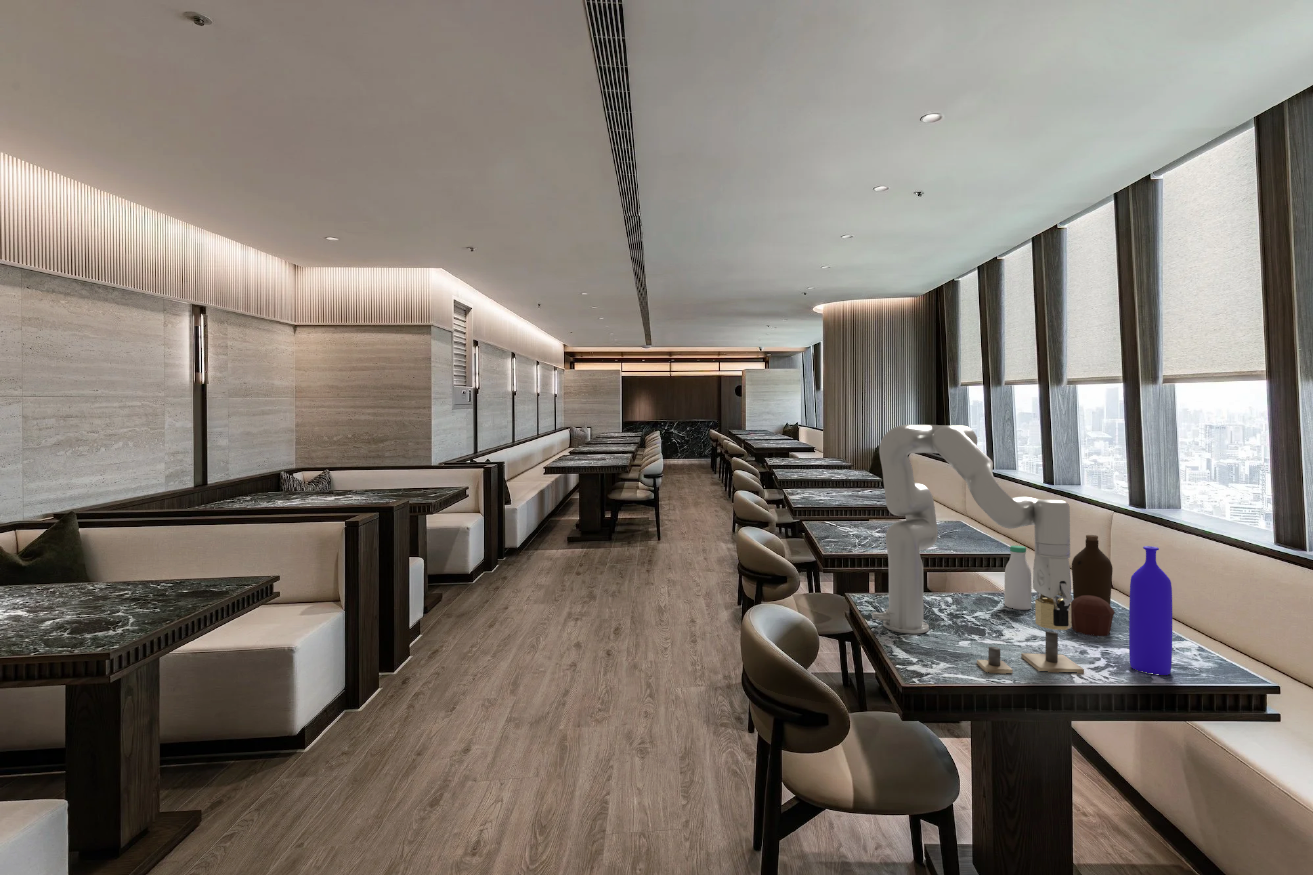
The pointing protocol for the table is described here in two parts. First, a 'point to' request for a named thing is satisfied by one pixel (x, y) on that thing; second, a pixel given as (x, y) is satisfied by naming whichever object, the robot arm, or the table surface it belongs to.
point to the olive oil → (1092, 571)
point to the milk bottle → (1018, 580)
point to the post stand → (1051, 658)
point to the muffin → (1091, 615)
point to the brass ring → (1048, 614)
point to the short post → (994, 662)
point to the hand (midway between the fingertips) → (1053, 620)
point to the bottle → (1150, 618)
